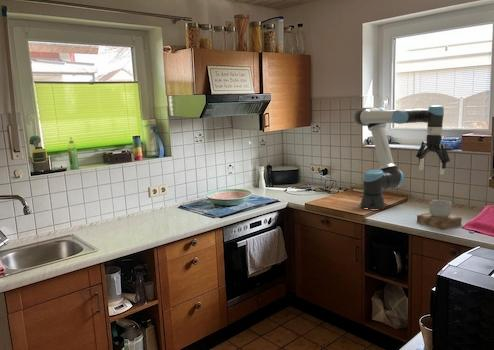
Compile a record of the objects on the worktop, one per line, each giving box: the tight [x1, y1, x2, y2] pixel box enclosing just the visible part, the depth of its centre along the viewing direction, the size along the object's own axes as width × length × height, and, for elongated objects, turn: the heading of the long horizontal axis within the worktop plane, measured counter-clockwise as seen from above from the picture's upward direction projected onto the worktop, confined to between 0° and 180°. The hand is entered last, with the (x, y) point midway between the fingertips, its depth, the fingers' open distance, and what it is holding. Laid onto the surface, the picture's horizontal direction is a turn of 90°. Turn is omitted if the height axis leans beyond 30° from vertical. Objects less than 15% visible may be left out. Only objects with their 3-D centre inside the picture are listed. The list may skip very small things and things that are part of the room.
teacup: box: [428, 199, 452, 218], centre depth 223 cm, size 14×11×8 cm
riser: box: [416, 211, 463, 231], centre depth 224 cm, size 16×15×4 cm
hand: (431, 172), depth 232 cm, fingers open, 13 cm apart
